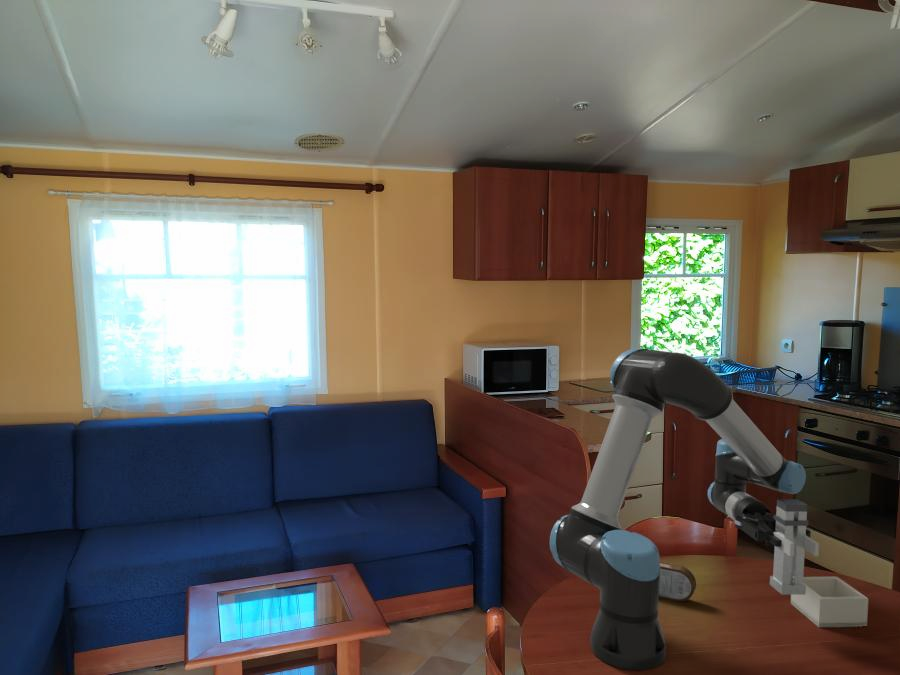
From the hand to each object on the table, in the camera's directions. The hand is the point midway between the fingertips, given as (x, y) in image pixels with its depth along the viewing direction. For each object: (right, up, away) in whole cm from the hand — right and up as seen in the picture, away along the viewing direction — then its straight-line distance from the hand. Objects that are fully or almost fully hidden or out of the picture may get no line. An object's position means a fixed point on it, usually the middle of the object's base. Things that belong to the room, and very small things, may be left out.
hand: (804, 549), depth 134 cm
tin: (-22, -19, +23) cm, 37 cm away
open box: (+13, -20, +14) cm, 28 cm away
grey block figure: (0, -11, +6) cm, 12 cm away
